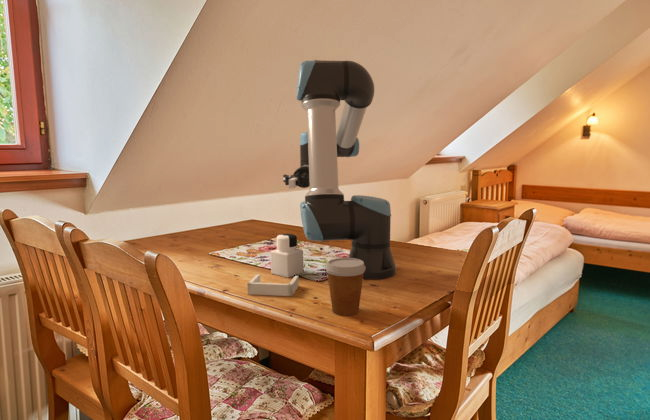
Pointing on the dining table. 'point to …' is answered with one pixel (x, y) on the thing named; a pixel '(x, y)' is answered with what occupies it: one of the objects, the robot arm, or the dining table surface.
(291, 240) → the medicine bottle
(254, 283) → the pocket
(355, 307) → the disposable coffee cup
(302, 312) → the dining table surface
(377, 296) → the dining table surface
